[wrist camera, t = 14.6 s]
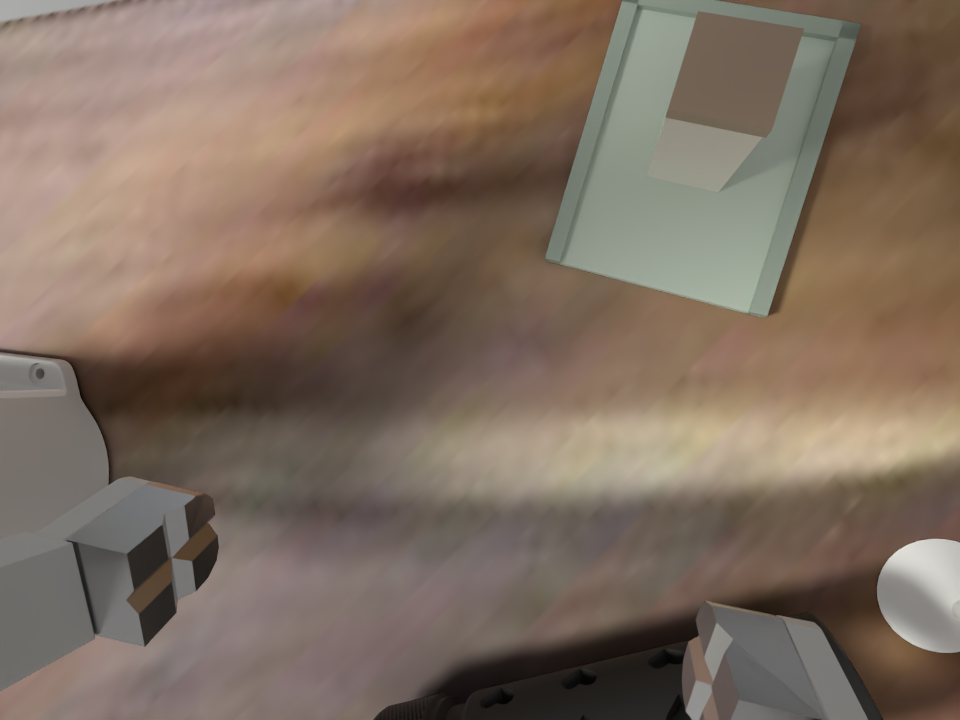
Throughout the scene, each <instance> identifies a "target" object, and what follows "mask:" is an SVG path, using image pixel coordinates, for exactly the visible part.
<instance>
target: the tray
mask: <svg viewBox="0 0 960 720" xmlns="http://www.w3.org/2000/svg"><path fill="white" fill-rule="evenodd" d="M698 11H701V12H707V13H713V14H719V15H725V16H731V17H737V18H743V19H749V20H755V21H762V22H768V23H774V24H780V25H786V26H792V27H798V28H804V31H803V34H802V37H801V40H800V43H799V46H798V50H797V53H796V56H795V59H794V62H793V65H792V68H791V72H790V75H789V78H788V81H787V84H786V87H785V91H784V94H783V97H782V100H781V103H780V106H779V109H778V113H777V116H776V119H775V122H774V125H773V128H772V131H771V132H770V133H769V134H768V136H767V137H766V138H764V137H762V139H761V140H760V141H759V142H758V144H757V145H756V146H755V147H754V149H753V150H752V151H751V152H750V154H749V155H748V156H747V157H746V158H745V160H744V161H743V162H742V163H741V165H740V166H739V167H738V168H737V170H736V171H735V172H734V173H733V175H732V176H731V177H730V178H729V180H728V181H727V182H726V183H725V185H724V186H723V187H722V188H721V190H720V191H719V192H714V191H710V190H705V189H701V188H697V187H692V186H688V185H683V184H679V183H674V182H670V181H665V180H661V179H657V178H652V177H648V176H647V172H648V169H649V166H650V163H651V159H652V156H653V153H654V150H655V146H656V143H657V140H658V137H659V133H660V130H661V127H662V124H663V120H664V117H665V114H666V111H667V107H668V104H669V102H670V99H671V96H672V93H673V90H674V87H675V84H676V81H677V77H678V74H679V71H680V68H681V64H682V61H683V58H684V55H685V51H686V48H687V45H688V42H689V38H690V35H691V32H692V29H693V25H694V22H695V19H696V16H697V13H698ZM860 27H861V23H855V22H849V21H842V20H836V19H830V18H824V17H817V16H811V15H805V14H799V13H792V12H786V11H780V10H773V9H767V8H761V7H755V6H748V5H742V4H736V3H730V2H723V1H717V0H622V3H621V7H620V10H619V13H618V17H617V20H616V23H615V27H614V30H613V33H612V37H611V40H610V43H609V46H608V50H607V53H606V56H605V60H604V63H603V66H602V70H601V73H600V76H599V80H598V83H597V86H596V90H595V93H594V96H593V100H592V103H591V106H590V110H589V113H588V116H587V120H586V123H585V126H584V130H583V133H582V136H581V140H580V143H579V146H578V150H577V153H576V156H575V159H574V163H573V166H572V169H571V173H570V176H569V179H568V183H567V186H566V189H565V193H564V196H563V199H562V203H561V206H560V209H559V213H558V216H557V219H556V223H555V226H554V229H553V233H552V236H551V239H550V243H549V246H548V249H547V253H546V256H545V260H546V261H548V262H552V263H556V264H559V265H563V266H567V267H571V268H575V269H578V270H582V271H586V272H590V273H594V274H597V275H601V276H605V277H609V278H612V279H616V280H620V281H624V282H628V283H631V284H635V285H639V286H643V287H647V288H650V289H654V290H658V291H662V292H666V293H669V294H673V295H677V296H681V297H685V298H688V299H692V300H696V301H700V302H704V303H707V304H711V305H715V306H719V307H723V308H726V309H730V310H734V311H738V312H741V313H745V314H749V315H753V316H757V317H760V318H763V317H767V316H768V312H769V309H770V306H771V303H772V300H773V297H774V294H775V291H776V288H777V284H778V281H779V278H780V275H781V272H782V269H783V266H784V263H785V260H786V257H787V253H788V250H789V247H790V244H791V241H792V238H793V235H794V232H795V229H796V225H797V222H798V219H799V216H800V213H801V210H802V207H803V204H804V201H805V198H806V194H807V191H808V188H809V185H810V182H811V179H812V176H813V173H814V170H815V166H816V163H817V160H818V157H819V154H820V151H821V148H822V145H823V142H824V139H825V135H826V132H827V129H828V126H829V123H830V120H831V117H832V114H833V111H834V107H835V104H836V101H837V98H838V95H839V92H840V89H841V86H842V83H843V79H844V76H845V73H846V70H847V67H848V64H849V61H850V58H851V55H852V52H853V48H854V45H855V42H856V39H857V36H858V33H859V30H860Z"/></svg>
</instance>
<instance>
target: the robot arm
mask: <svg viewBox="0 0 960 720" xmlns="http://www.w3.org/2000/svg"><path fill="white" fill-rule="evenodd" d="M108 483H109V465H108V456H107V451H106V447H105V443H104V440H103V437H102V434H101V432H100V429H99V427H98V425H97V423H96V422H95V420H94V418H93V417H92V415H91V414H90V412H89V411H88V409H87V408H86V406H85V404H84V403H83V401H82V399H81V397H80V393H79V389H78V384H77V380H76V376H75V373H74V370H73V368H72V366H71V365H70V364H69V363H68V362H67V361H65V360H61V359H53V358H45V357H36V356H28V355H19V354H11V353H3V352H0V691H2V690H4V689H6V688H7V687H9V686H11V685H13V684H14V683H16V682H18V681H20V680H22V679H23V678H25V677H27V676H29V675H31V674H32V673H34V672H36V671H38V670H40V669H41V668H43V667H45V666H47V665H49V664H50V663H52V662H54V661H56V660H58V659H59V658H61V657H63V656H65V655H66V654H68V653H70V652H72V651H74V650H75V649H77V648H79V647H81V646H83V645H84V644H86V643H88V642H90V641H92V640H93V639H95V635H96V636H100V637H105V638H109V639H113V640H118V641H122V642H126V643H131V644H135V645H139V646H144V647H145V646H146V645H147V644H148V643H149V642H150V640H151V639H152V638H153V637H154V636H155V635H156V634H157V633H158V632H159V631H160V630H161V629H162V628H163V626H164V625H165V624H166V623H167V622H168V621H169V620H170V619H171V618H172V617H173V616H174V615H175V614H176V611H177V602H178V599H181V598H183V597H185V596H187V595H189V594H191V593H193V592H196V591H197V590H198V588H199V587H200V586H201V585H202V584H203V583H204V582H205V581H206V579H207V578H208V577H209V575H210V573H211V571H212V569H213V567H214V564H215V562H216V560H217V554H218V548H219V545H218V535H217V534H216V533H215V531H214V530H213V529H212V527H211V526H210V524H209V522H210V520H211V519H212V518H213V517H214V515H215V510H214V504H213V498H211V497H210V496H208V495H206V494H204V493H200V492H196V491H192V490H188V489H184V488H180V487H175V486H171V485H167V484H163V483H159V482H152V481H148V480H144V479H140V478H136V477H132V476H129V477H124V478H119V479H117V480H116V481H114V482H113V483H111V484H110V485H108ZM696 624H697V628H698V633H699V636H697V637H696V638H694V639H692V640H691V641H689V642H688V645H687V648H686V652H685V655H684V659H683V670H682V690H683V699H684V705H685V711H686V712H687V714H688V715H689V716H690V718H691V719H692V720H868V718H867V716H866V714H865V713H864V711H863V709H862V707H861V705H860V703H859V701H858V699H857V697H856V695H855V693H854V691H853V689H852V687H851V685H850V683H849V682H848V680H847V678H846V676H845V674H844V672H843V670H842V668H841V666H840V664H839V662H838V660H837V658H836V656H835V654H834V652H833V651H832V649H831V647H830V645H829V643H828V641H827V639H826V637H825V635H824V633H823V631H822V629H821V628H820V627H819V626H818V625H817V624H815V623H814V622H810V621H805V620H800V619H795V618H790V617H785V616H779V615H776V616H774V615H772V614H767V613H762V612H757V611H752V610H748V609H743V608H738V607H733V606H728V605H723V604H718V603H714V602H709V601H704V603H703V604H702V605H701V607H700V609H699V611H698V614H697V617H696Z"/></svg>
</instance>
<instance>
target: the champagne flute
mask: <svg viewBox="0 0 960 720" xmlns="http://www.w3.org/2000/svg"><path fill="white" fill-rule="evenodd" d="M877 599H878V603H879V606H880V610H881V612H882V614H883V616H884V618H885V620H886V621H887V623H888V624H889V625H890V626H891V628H892V629H893V630H894V631H895V632H896V633H897V634H898V635H900V636H901V637H902V638H903V639H905V640H906V641H908V642H910V643H911V644H913V645H915V646H917V647H920V648H922V649H925V650H929V651H934V652H940V653H955V652H960V543H959V542H956V541H951V540H946V539H927V540H921V541H917V542H914V543H911V544H908V545H906V546H904V547H903V548H901V549H899V550H898V551H896V552H895V553H894V554H893V555H892V556H891V557H890V558H889V559H888V561H887V562H886V563H885V565H884V566H883V568H882V570H881V573H880V575H879V578H878V584H877Z"/></svg>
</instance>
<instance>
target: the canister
mask: <svg viewBox="0 0 960 720" xmlns="http://www.w3.org/2000/svg"><path fill="white" fill-rule="evenodd" d="M803 31H804V28H798V27H792V26H786V25H780V24H774V23H768V22H762V21H755V20H749V19H743V18H737V17H731V16H725V15H719V14H713V13H707V12H701V11H698V13H697V16H696V19H695V22H694V25H693V29H692V32H691V35H690V38H689V42H688V45H687V48H686V51H685V55H684V58H683V61H682V64H681V68H680V71H679V74H678V77H677V81H676V84H675V87H674V90H673V93H672V96H671V99H670V102H669V104H668V107H667V111H666V114H665V117H664V120H663V124H662V127H661V130H660V133H659V137H658V140H657V143H656V146H655V150H654V153H653V156H652V159H651V163H650V166H649V169H648V172H647V176H648V177H652V178H657V179H661V180H665V181H670V182H674V183H679V184H683V185H688V186H692V187H697V188H701V189H705V190H710V191H714V192H719V191H720V190H721V188H722V187H723V186H724V185H725V183H726V182H727V181H728V180H729V178H730V177H731V176H732V175H733V173H734V172H735V171H736V170H737V168H738V167H739V166H740V165H741V163H742V162H743V161H744V160H745V158H746V157H747V156H748V155H749V154H750V152H751V151H752V150H753V149H754V147H755V146H756V145H757V144H758V142H759V141H760V140H761V139H762V137H764V138H766V137H767V136H768V134H769V133H770V132H771V131H772V128H773V125H774V122H775V119H776V116H777V113H778V109H779V106H780V103H781V100H782V97H783V94H784V91H785V87H786V84H787V81H788V78H789V75H790V72H791V68H792V65H793V62H794V59H795V56H796V53H797V50H798V46H799V43H800V40H801V37H802V34H803Z"/></svg>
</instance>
